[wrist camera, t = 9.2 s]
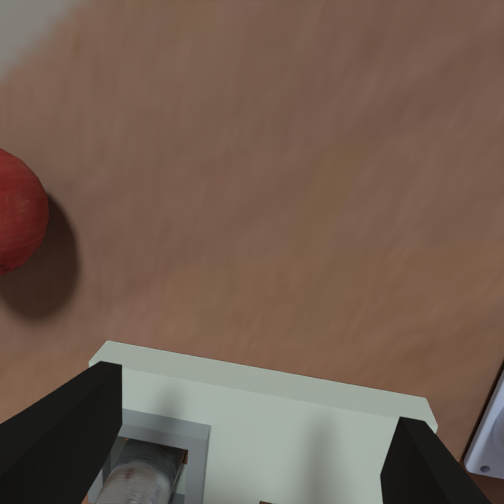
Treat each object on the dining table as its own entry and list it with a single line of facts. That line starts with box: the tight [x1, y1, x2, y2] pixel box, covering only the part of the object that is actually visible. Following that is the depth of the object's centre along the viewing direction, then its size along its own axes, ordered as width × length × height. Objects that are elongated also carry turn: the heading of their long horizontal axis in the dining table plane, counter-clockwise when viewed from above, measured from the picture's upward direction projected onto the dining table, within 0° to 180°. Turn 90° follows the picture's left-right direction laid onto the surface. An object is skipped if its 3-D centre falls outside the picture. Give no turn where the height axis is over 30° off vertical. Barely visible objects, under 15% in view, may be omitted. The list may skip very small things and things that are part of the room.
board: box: [88, 340, 438, 504], centre depth 23 cm, size 18×16×3 cm
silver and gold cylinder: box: [94, 438, 187, 504], centre depth 21 cm, size 4×4×7 cm
